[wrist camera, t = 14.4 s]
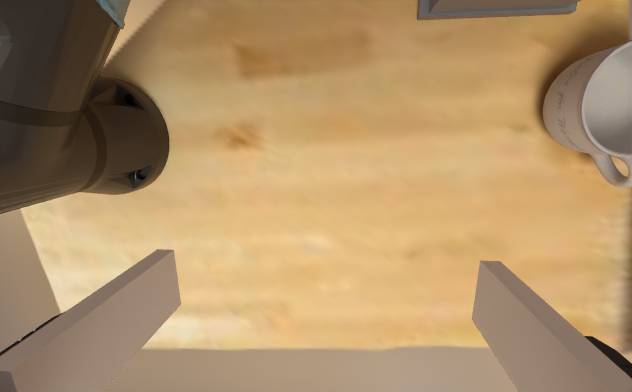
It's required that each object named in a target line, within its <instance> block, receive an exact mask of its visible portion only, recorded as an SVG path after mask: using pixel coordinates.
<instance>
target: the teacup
mask: <svg viewBox="0 0 632 392" xmlns="http://www.w3.org/2000/svg"><path fill="white" fill-rule="evenodd" d="M543 120H544V124H545V127H546V129H547V131H548V133H549V134H550V136H551V137H552V138H553V139H554V140H555V141H556V142H558V143H559V144H560V145H562V146H564V147H566V148H568V149H571V150H574V151H578V152H583V153H589V155H590V156H591V157H592V158H593V159H594V161H595V163H596V165H597V167H598V169H599V171H600V173H601V174H602V176H603V177H604V178H605V179H606V180H607V181H608V182H609V183H610V184H612V185H614V186H617V187H632V40H630V41H628V42H626V43H624V44H621V45H618V46H615V47H611V48H608V49H605V50H602V51H599V52H596V53H594V54H591V55H589V56H586V57H584V58H582V59H580V60H578V61H576V62H575V63H573V64H572V65H570V66H569V67H567V68H566V69H565V70H564V71H563V72H561V73H560V75H559V76H558V77H557V78H556V79H555V80H554V81H553V83H552V85H551V86H550V88H549V90H548V92H547V94H546V97H545V100H544V104H543ZM610 155H611V156H615V157H616V158H618V159H620V160H622V161H623V162H624V163H625V164H626V165H627V166H628V169H629V175H628V177H625V176H624V175H622V174H621V173H620V172H619V171H618V169H617V168H616V166H615V165H614V163H613V161H612V159H611V157H610Z"/></svg>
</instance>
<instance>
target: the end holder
mask: <svg viewBox="0 0 632 392" xmlns="http://www.w3.org/2000/svg"><path fill="white" fill-rule="evenodd" d="M578 1H580V0H419V1H418V15H417V20H431V19H457V18H483V17H508V16H534V15H560V14H570V13H572V12H574V11H576V6H577V2H578Z"/></svg>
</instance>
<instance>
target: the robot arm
mask: <svg viewBox="0 0 632 392" xmlns="http://www.w3.org/2000/svg"><path fill="white" fill-rule="evenodd" d="M129 3H130V0H0V214H2V213H5V212H9V211H12V210H16V209H20V208H23V207H27V206H30V205H34V204H37V203H41V202H45V201H48V200H52V199H55V198H59V197H63V196H66V195H70V194H73V193H77V192H86V193H97V194H109V195H118V194H126V193H130V192H133V191H136V190H139V189H142V188H144V187H146V186H148V185H149V184H151V183H152V182H153V181H155V180H156V178H157V177H158V176H159V175H160V173H161V172H162V170H163V168H164V166H165V164H166V161H167V157H168V151H169V139H168V132H167V128H166V125H165V122H164V120H163V117H162V115H161V113H160V112H159V110H158V108H157V107H156V105H155V104H154V103H153V102H152V100H151V99H150V98H149V97H148V96H147V95H146V94H145V93H143V92H142V91H141V90H140V89H138V88H137V87H135V86H133V85H131V84H129V83H127V82H124V81H121V80H118V79H112V78H107V77H101V76H99V75H100V72H101V70H102V68H103V66H104V64H105V61H106V59H107V57H108V55H109V53H110V51H111V48H112V46H113V44H114V42H115V40H116V37H117V35H118V33H119V31H120V29H123V28H124V25H125V24H124V17H125V14H126V12H127V8H128V5H129ZM180 305H181V300H180V293H179V286H178V278H177V271H176V263H175V256H174V250H159V249H157V250H156V251H155V252H153V253H152V254H150V255H149V256H147V257H146V258H144V259H143V260H141V261H140V262H138V263H137V264H135V265H134V266H132V267H131V268H129V269H128V270H127V271H125V272H124V273H122V274H121V275H119V276H118V277H116V278H115V279H113V280H112V281H110V282H109V283H107V284H106V285H104V286H103V287H101V288H100V289H98V290H97V291H96V292H94V293H93V294H91V295H90V296H88V297H87V298H85V299H84V300H82V301H81V302H79V303H78V304H76V305H75V306H73V307H72V308H70V309H69V310H68V311H66V312H64V313H61V314H59V315H57V316H55V317H53V318H51V319H50V320H48V321H47V322H45V323H44V324H42V325H41V326H39V327H38V328H36V330H35V331H32V332H30V333H29V334H27V335H26V336H24V337H23V338H22V339H21V341H17V342H15V343H14V344H12V345H11V346H10V347H8V348H6V349H5V350H3V351H2V352H1V353H0V392H102V391H103V390H104V389H105V388H106V387H107V386H108V384H109V383H110V382H111V381H112V380H113V379H114V378H115V377H116V376H117V375H118V373H119V372H120V371H121V370H122V369H123V368H124V367H125V366H126V365H127V363H128V362H129V361H130V360H131V359H132V358H133V357H134V356H135V355H136V354H137V352H138V351H139V350H140V349H141V348H142V347H143V346H144V345H145V344H146V342H147V341H148V340H149V339H150V338H151V337H152V336H153V335H154V334H155V332H156V331H157V330H158V329H159V328H160V327H161V326H162V325H163V324H164V322H165V321H166V320H167V319H168V318H169V317H170V316H171V315H172V314H173V312H174V311H175V310H176V309H177V308H178V307H179V306H180ZM472 320H473V322H474V324H475V325H476V327H477V328H478V330H479V331H480V333H481V334H482V336H483V337H484V339H485V341H486V342H487V344H488V345H489V347H490V348H491V350H492V351H493V353H494V354H495V356H496V357H497V359H498V360H499V362H500V364H501V365H502V367H503V368H504V370H505V371H506V373H507V374H508V376H509V377H510V379H511V381H512V382H513V384H514V385H515V387H516V388H517V390H518V391H519V392H632V363H630V362H629V361H628V360H627V359H626V358H624V357H623V356H622V355H621V354H620V353H618V352H617V351H616V350H615V349H613V348H611V347H609V346H608V345H606V344H604V343H603V342H601V341H599V340H597V339H596V338H594V337H592V336H583V335H582V334H581V333H580V332H579V331H578V330H576V329H575V328H574V327H573V326H572V325H571V324H570V323H569V322H567V321H566V320H565V319H564V318H563V317H562V316H561V315H560V314H558V313H557V312H556V311H555V310H554V309H553V308H552V307H551V306H550V305H548V304H547V303H546V302H545V301H544V300H543V299H542V298H541V297H539V296H538V295H537V294H536V293H535V292H534V291H533V290H532V289H530V288H529V287H528V286H527V285H526V284H525V283H524V282H523V281H521V280H520V279H519V278H518V277H517V276H516V275H515V274H514V273H512V272H511V271H510V270H509V269H508V268H507V267H506V266H505V265H503V264H502V263H501V262H500V261H480V265H479V272H478V279H477V286H476V294H475V301H474V308H473V315H472Z"/></svg>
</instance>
